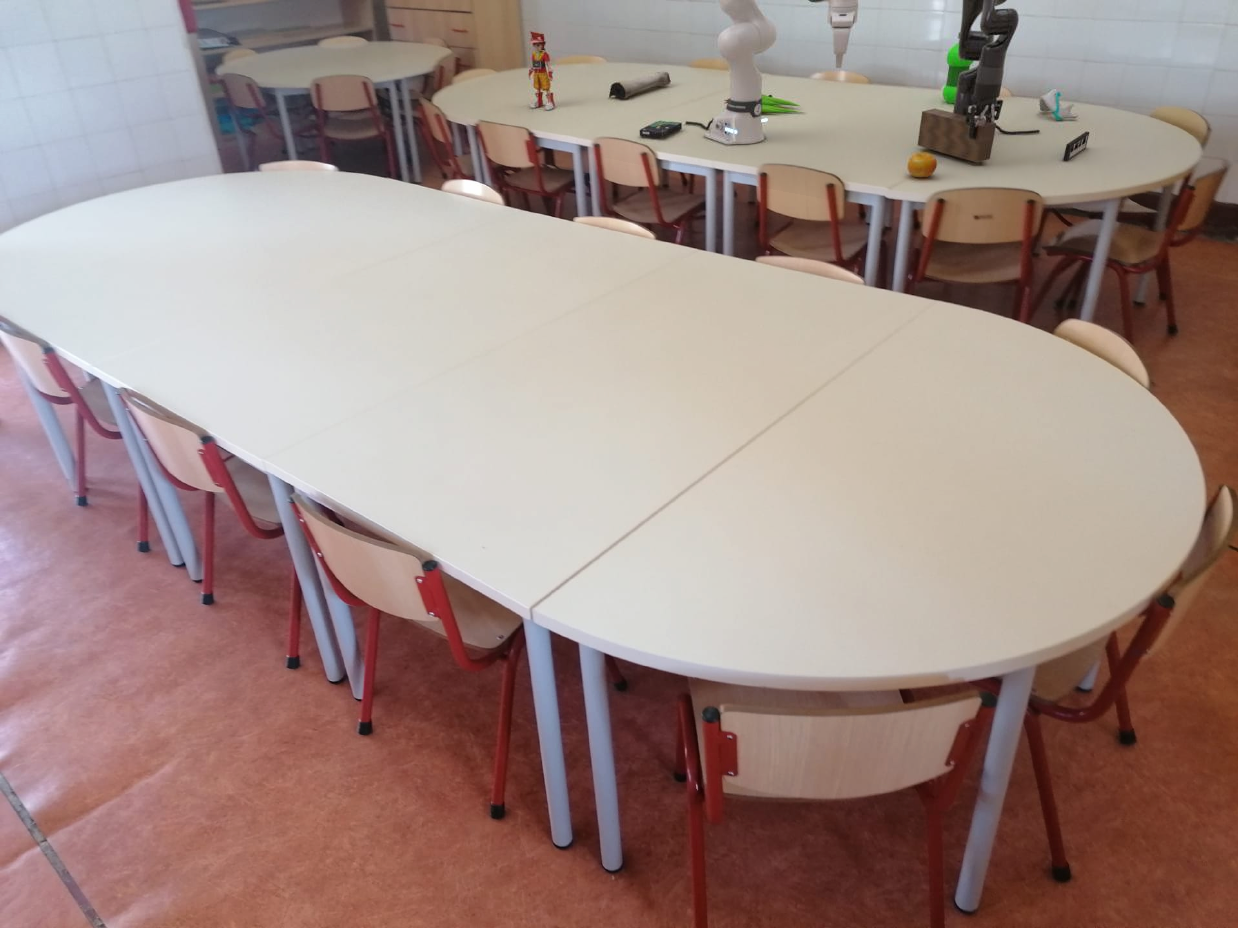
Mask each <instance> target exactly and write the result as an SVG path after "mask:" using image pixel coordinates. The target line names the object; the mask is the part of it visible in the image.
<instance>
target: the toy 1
mask: <svg viewBox="0 0 1238 928" xmlns="http://www.w3.org/2000/svg"><path fill="white" fill-rule="evenodd" d="M529 33H530V35H531V36H528V37H527V38H528V39H529V40H528V41H527V43H529V44H530V43H531V44H532V48H533V50H534V51H533V52H532V55H531V58H530V59H531V63H530V66H528V74H527V75H528V76H527V77H528V79H529V80H531V75H532V74H533V84H532V85H533V86H532V87H533V88H534V89H535V90H536V92H534V95H535V97H536V100H535V101H533V102H531V105H530V108H531V109H535V108H538V107H542V106H544V101H543V100H544V99H543V95H544V92H546V94H545V97H546V99H547V103H546V104H545V106H544V110H546V111H549V110H553V109H554V107H555V106H556V105H555V99H554V92H551V91H550V90H551V86H552V84H551V82H552V81H553V80H554V77H553V73H554V71H555V70H554V69H552V68H551V63H550V61H551V59H550V58H551V57H550V54H549V53H548V52H547V50H546V48H545V46H546V44H547V41H545V35H544V33H543V32H542V33H539V32H535V31H529Z"/></svg>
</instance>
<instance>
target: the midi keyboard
mask: <svg viewBox="0 0 1238 928" xmlns="http://www.w3.org/2000/svg"><path fill="white" fill-rule="evenodd" d="M1090 133H1091V132H1090V131H1085V132H1083V133H1082V134H1080V135H1079V136H1076V138H1074V139H1073V140H1071V141H1069V142H1068V143H1066V145H1065V146H1066V147H1065V150H1064V153H1063V159H1062V160H1063V161H1068V160H1070V158H1072V157H1073V156H1075V155H1077V154H1078V153H1080V152H1081V151H1082V150H1084V149H1086V148H1087V145H1088V140H1089V137H1090Z"/></svg>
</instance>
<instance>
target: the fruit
mask: <svg viewBox="0 0 1238 928" xmlns="http://www.w3.org/2000/svg"><path fill="white" fill-rule="evenodd" d="M937 166H938V162H937V159H936V157H935V156H934V155H933V154H931V153H929V152H926V151H925V152H924V151H923V152H916V153H915V154H913V155H912V156H911V157H910V158H909V160H908V162H907V171H908V172H909V174H910V175H911V176H912V177H914V178H922V179H923V178H927V177H930V176H931V175H933V173H934V172H935V171H936V169H937Z"/></svg>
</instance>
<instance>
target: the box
mask: <svg viewBox="0 0 1238 928" xmlns="http://www.w3.org/2000/svg"><path fill="white" fill-rule="evenodd" d="M920 116H921V118H920V124H919V130H918V139H917V146H918V147H922V148H925V149H929V150H931V151H935V152H939V153H943V154H946V155H949V156H953V157H956V158H960V159H963V160H966V161H970V162H973V163H980V162H984V161H988V160H990V159H991V154H992V150H993V145H994V144H993V143H994V140H995V139H994V138H995V133H996V129H997V128H996V125H997V123H996V122H994V123H993V122H989V121H985V120H986V119H985V120H980V122H979V124H978V126H977V127H978V128H977V134H976V138H975V139H970V138H969V130H970V126H969V125H966V116H964V115H960V114H956V113H953V111H947V110H943V109H939V108H931V109H925V110H922V111H921V115H920ZM976 120H977V119H975V122H976ZM970 121H971V118H970Z"/></svg>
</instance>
